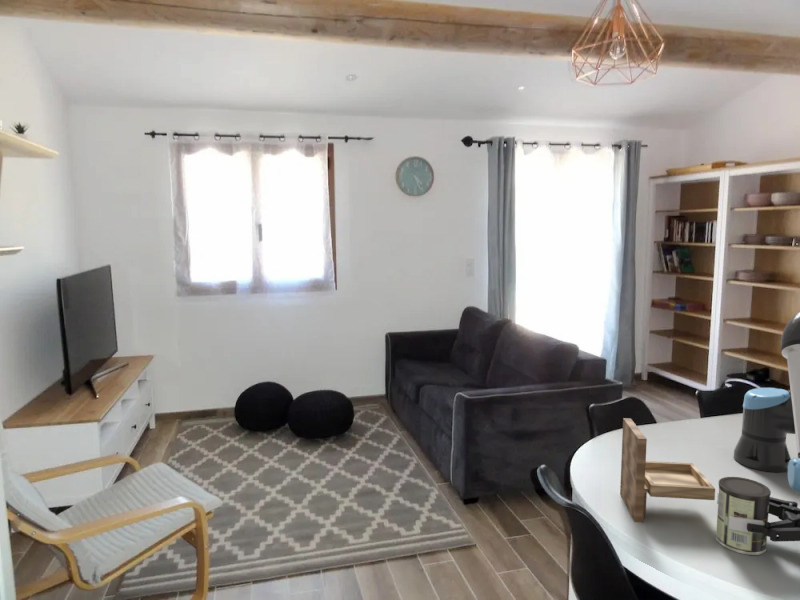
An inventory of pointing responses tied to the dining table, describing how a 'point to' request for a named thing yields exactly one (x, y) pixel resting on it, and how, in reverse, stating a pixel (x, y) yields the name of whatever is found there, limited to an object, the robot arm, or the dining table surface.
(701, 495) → the bracket
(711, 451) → the dining table surface
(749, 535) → the coffee can
